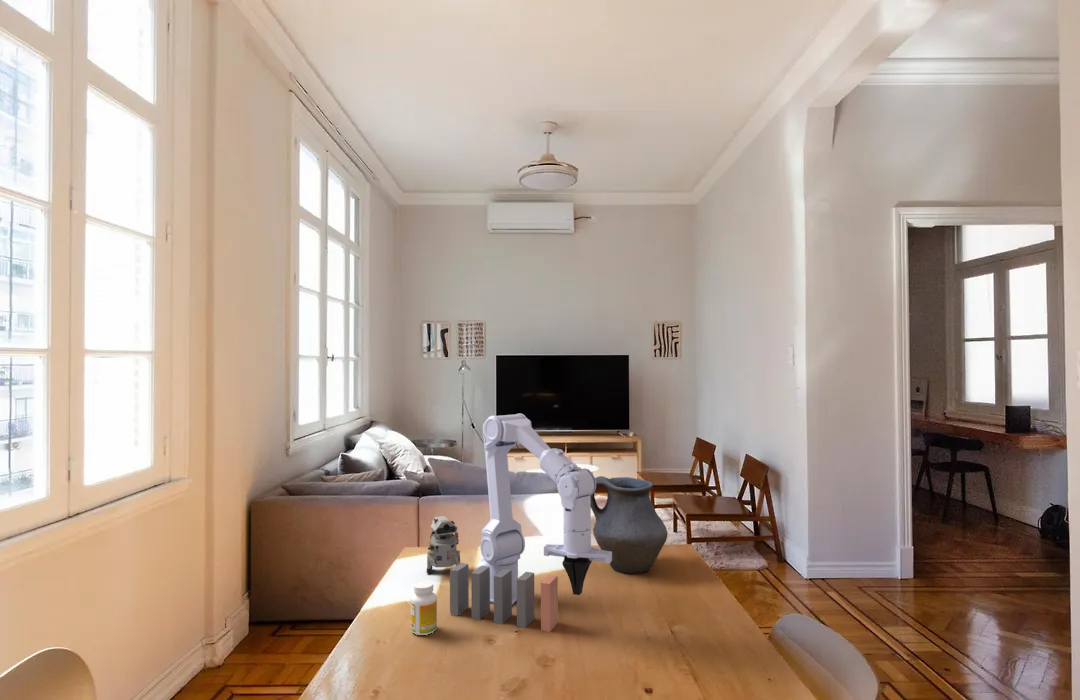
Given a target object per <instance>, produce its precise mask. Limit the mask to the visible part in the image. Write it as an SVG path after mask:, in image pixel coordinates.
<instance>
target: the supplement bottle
mask: <svg viewBox="0 0 1080 700" xmlns="http://www.w3.org/2000/svg"><path fill="white" fill-rule="evenodd" d="M413 591H414V594H412V596H411V598H410V632H411V631H412V632H413V633H415V634H419V635H424V634H430V633H432V634H434V633H435V632H436V631H437V629H438V622H437V621H438V617H437V615H438V613H437V612H438V611H437V609H438V606H437V605H438V604H437V601H438V600H437V594H436V593H435V592H434V583H433V582H432V581H427V580H425V581H418V582H416V583H415V584H414V585H413ZM435 630H436V631H435ZM434 631H435V632H434ZM412 632H411V633H412ZM433 632H434V633H433ZM413 633H412V634H413ZM430 635H431V634H430Z"/></svg>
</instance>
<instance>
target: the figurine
mask: <svg viewBox="0 0 1080 700" xmlns="http://www.w3.org/2000/svg"><path fill="white" fill-rule="evenodd" d="M431 521H432V522H431V525H430V529H431V530H432V531H431V533H430V534H429V536H430V537H429V538H430V539H429V541H428V544H427V550H428V551H427V554H426V555H427V556H426V558H427V559H426V566H427V567H426V574H427V573H431V574H432V572H433V567H434V568H450V567H452V566H453V567H454V566H457V565H458V564H460V563H461V551H460V550H457V545H459V541H460V540H459V532H458V526H456V524H455V522H454V521H453V520H450V519H448V517H446V516H445V515H437V516H434V518H433V519H432V520H431Z"/></svg>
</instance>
